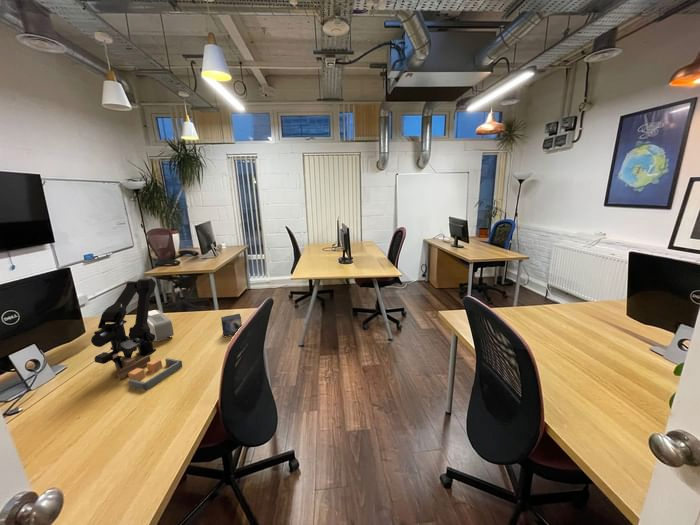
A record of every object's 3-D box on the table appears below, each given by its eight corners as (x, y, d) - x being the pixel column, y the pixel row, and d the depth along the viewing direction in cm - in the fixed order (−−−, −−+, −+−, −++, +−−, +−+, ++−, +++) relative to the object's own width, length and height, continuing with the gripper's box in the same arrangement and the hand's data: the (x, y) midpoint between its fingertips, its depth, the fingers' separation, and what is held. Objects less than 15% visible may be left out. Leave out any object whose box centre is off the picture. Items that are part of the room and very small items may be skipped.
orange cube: (148, 370, 132) (146, 363, 131) (156, 366, 136) (154, 358, 135) (154, 372, 131) (152, 364, 130) (162, 367, 135) (161, 359, 134)
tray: (130, 386, 121) (128, 380, 120) (168, 363, 137) (167, 358, 137) (145, 390, 118) (144, 384, 117) (182, 366, 135) (181, 360, 134)
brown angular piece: (102, 375, 128) (100, 365, 127) (134, 358, 141) (132, 349, 140) (120, 379, 125) (118, 369, 124) (150, 362, 138) (148, 353, 137)
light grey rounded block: (143, 330, 175) (139, 312, 172) (160, 325, 182) (157, 307, 179) (155, 344, 157) (151, 324, 154) (174, 338, 164) (171, 319, 161)
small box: (223, 337, 162) (221, 320, 160) (222, 333, 168) (220, 316, 165) (243, 333, 167) (241, 316, 164) (241, 329, 172) (239, 313, 170)
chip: (129, 381, 125) (128, 373, 124) (138, 375, 129) (137, 367, 128) (136, 382, 124) (134, 374, 123) (145, 377, 127) (143, 369, 126)
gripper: (107, 348, 119) (115, 381, 122) (150, 328, 136) (156, 358, 140) (89, 344, 122) (97, 376, 126) (133, 326, 140) (139, 354, 143)
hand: (124, 366), depth 134 cm, fingers closed on brown angular piece, 3 cm apart
